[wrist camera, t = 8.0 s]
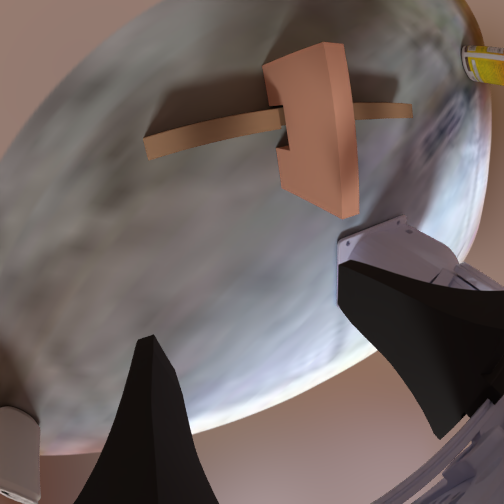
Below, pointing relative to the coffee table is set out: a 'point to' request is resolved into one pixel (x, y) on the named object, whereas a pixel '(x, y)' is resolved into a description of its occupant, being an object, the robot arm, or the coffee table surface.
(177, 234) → the coffee table surface
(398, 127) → the coffee table surface
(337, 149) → the tan flat plank
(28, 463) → the beverage can
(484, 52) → the supplement bottle
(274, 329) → the coffee table surface
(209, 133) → the walnut board
